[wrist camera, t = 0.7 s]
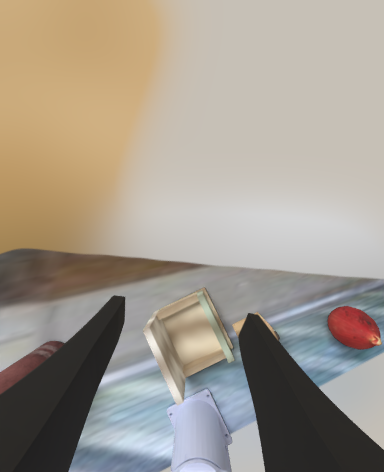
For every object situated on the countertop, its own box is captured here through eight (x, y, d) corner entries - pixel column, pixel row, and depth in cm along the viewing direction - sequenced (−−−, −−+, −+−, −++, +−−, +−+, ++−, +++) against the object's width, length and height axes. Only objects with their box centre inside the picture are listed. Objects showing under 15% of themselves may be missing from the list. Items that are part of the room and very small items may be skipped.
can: (73, 375, 31) (-25, 479, 17) (37, 374, 32) (-88, 475, 18) (75, 339, 32) (-19, 413, 18) (39, 338, 32) (-81, 411, 18)
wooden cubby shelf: (232, 344, 31) (243, 372, 24) (181, 369, 31) (177, 405, 24) (204, 287, 32) (207, 298, 25) (154, 312, 32) (142, 330, 25)
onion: (320, 296, 32) (363, 313, 24) (352, 305, 31) (406, 325, 23) (313, 329, 31) (353, 357, 23) (345, 338, 31) (397, 370, 23)
